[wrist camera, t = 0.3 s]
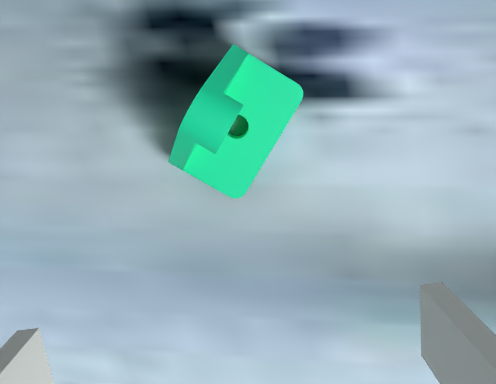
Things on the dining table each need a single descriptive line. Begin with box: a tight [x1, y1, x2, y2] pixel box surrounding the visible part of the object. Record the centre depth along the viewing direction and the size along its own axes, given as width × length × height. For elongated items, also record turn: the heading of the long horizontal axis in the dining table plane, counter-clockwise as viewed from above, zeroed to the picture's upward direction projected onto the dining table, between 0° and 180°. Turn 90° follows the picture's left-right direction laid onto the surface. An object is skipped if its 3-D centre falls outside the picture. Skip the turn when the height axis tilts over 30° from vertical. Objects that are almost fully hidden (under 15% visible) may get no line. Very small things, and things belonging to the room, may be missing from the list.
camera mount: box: [168, 44, 303, 198], centre depth 35 cm, size 12×8×10 cm, turn 149°
